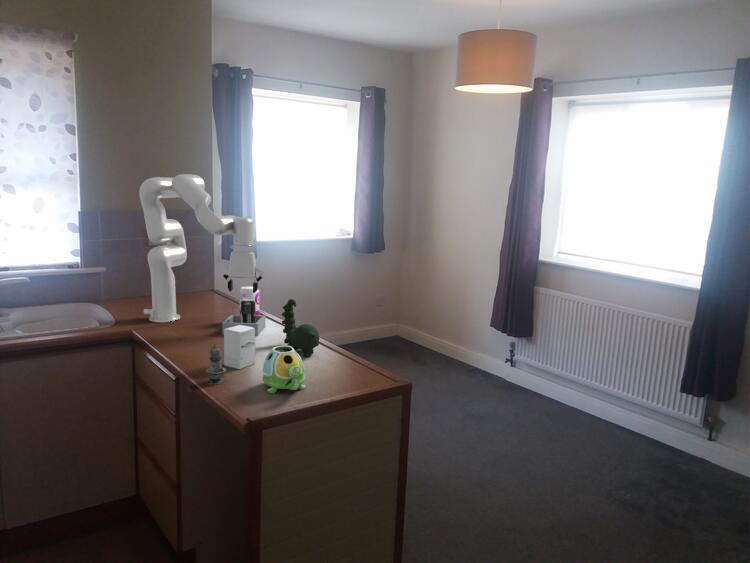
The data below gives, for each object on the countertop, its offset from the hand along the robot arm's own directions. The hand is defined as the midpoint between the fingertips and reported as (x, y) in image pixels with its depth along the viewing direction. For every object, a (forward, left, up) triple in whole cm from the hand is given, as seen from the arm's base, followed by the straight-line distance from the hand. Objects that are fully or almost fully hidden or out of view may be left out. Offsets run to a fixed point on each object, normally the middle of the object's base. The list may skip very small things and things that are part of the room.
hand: (242, 291), depth 232 cm
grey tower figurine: (+6, -59, -16) cm, 61 cm away
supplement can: (-1, +14, -16) cm, 21 cm away
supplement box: (+10, -42, -16) cm, 46 cm away
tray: (+1, 0, -16) cm, 16 cm away
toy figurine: (+27, -25, -16) cm, 40 cm away
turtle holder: (+29, -62, -16) cm, 70 cm away
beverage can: (+2, +1, -16) cm, 16 cm away
